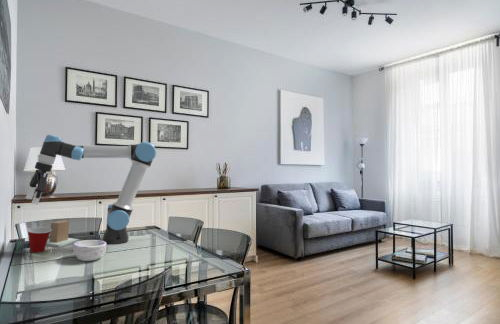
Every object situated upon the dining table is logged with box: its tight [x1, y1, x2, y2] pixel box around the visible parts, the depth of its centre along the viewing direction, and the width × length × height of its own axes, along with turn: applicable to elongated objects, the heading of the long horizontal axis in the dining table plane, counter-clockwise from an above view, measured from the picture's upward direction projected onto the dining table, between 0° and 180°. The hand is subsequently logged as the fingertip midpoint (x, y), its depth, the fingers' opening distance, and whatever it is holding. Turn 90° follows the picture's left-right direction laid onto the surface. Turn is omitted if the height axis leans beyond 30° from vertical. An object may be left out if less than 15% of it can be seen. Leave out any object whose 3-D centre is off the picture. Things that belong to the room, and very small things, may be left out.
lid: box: [46, 219, 80, 247], centre depth 181 cm, size 15×15×12 cm
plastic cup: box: [26, 226, 52, 253], centre depth 162 cm, size 11×11×12 cm
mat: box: [45, 239, 84, 249], centre depth 180 cm, size 20×20×1 cm
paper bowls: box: [72, 239, 108, 262], centre depth 157 cm, size 15×15×8 cm
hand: (31, 201), depth 164 cm, fingers open, 13 cm apart
